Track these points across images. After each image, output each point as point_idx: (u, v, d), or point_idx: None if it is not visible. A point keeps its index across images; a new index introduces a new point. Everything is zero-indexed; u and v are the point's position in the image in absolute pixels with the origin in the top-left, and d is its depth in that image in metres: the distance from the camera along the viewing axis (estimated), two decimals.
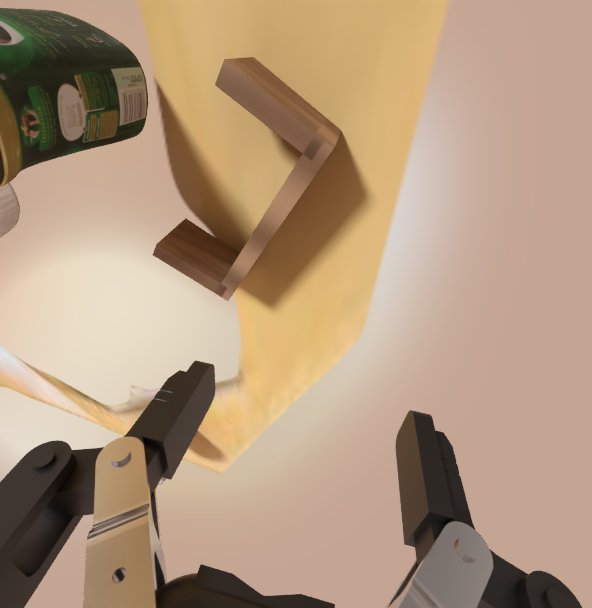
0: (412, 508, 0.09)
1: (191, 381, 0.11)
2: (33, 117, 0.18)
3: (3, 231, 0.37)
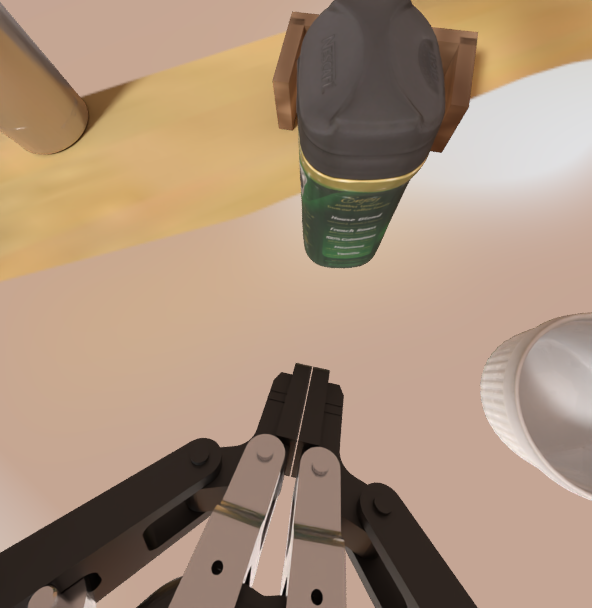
0: None
1: (300, 382, 0.12)
2: None
3: None
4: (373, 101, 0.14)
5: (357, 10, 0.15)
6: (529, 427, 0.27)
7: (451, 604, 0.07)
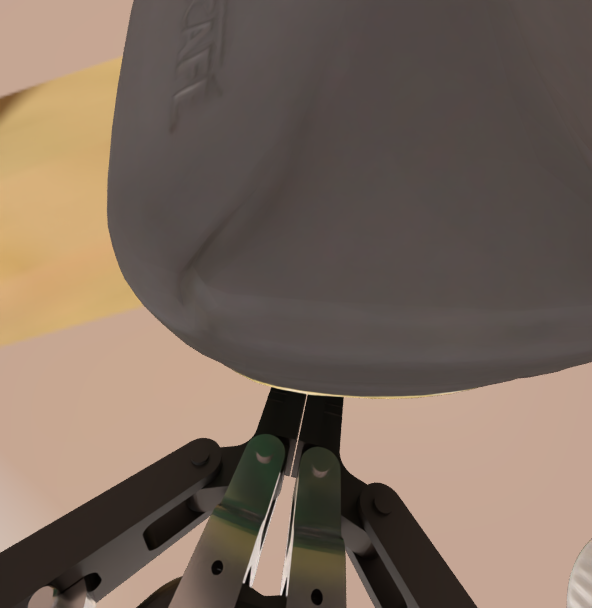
0: None
1: None
2: None
3: None
4: (406, 192, 0.02)
5: None
6: None
7: (452, 605, 0.07)
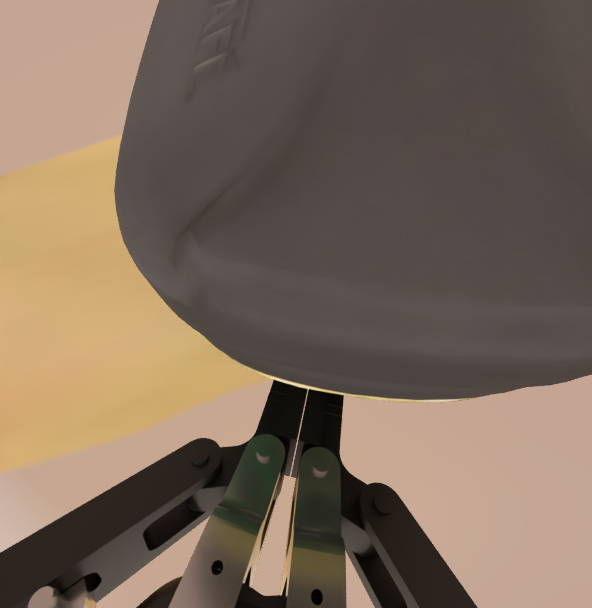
0: None
1: None
2: None
3: None
4: (411, 175, 0.02)
5: None
6: None
7: (452, 605, 0.07)
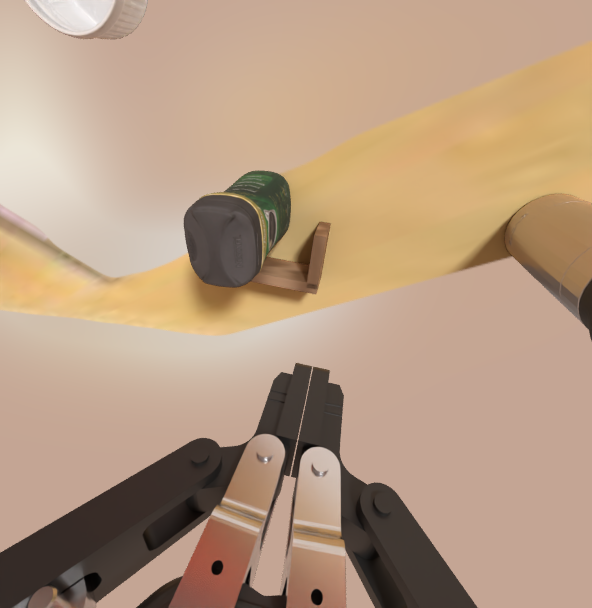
0: None
1: (300, 382, 0.12)
2: None
3: None
4: (213, 222, 0.28)
5: (224, 275, 0.31)
6: None
7: (452, 605, 0.07)
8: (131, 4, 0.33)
